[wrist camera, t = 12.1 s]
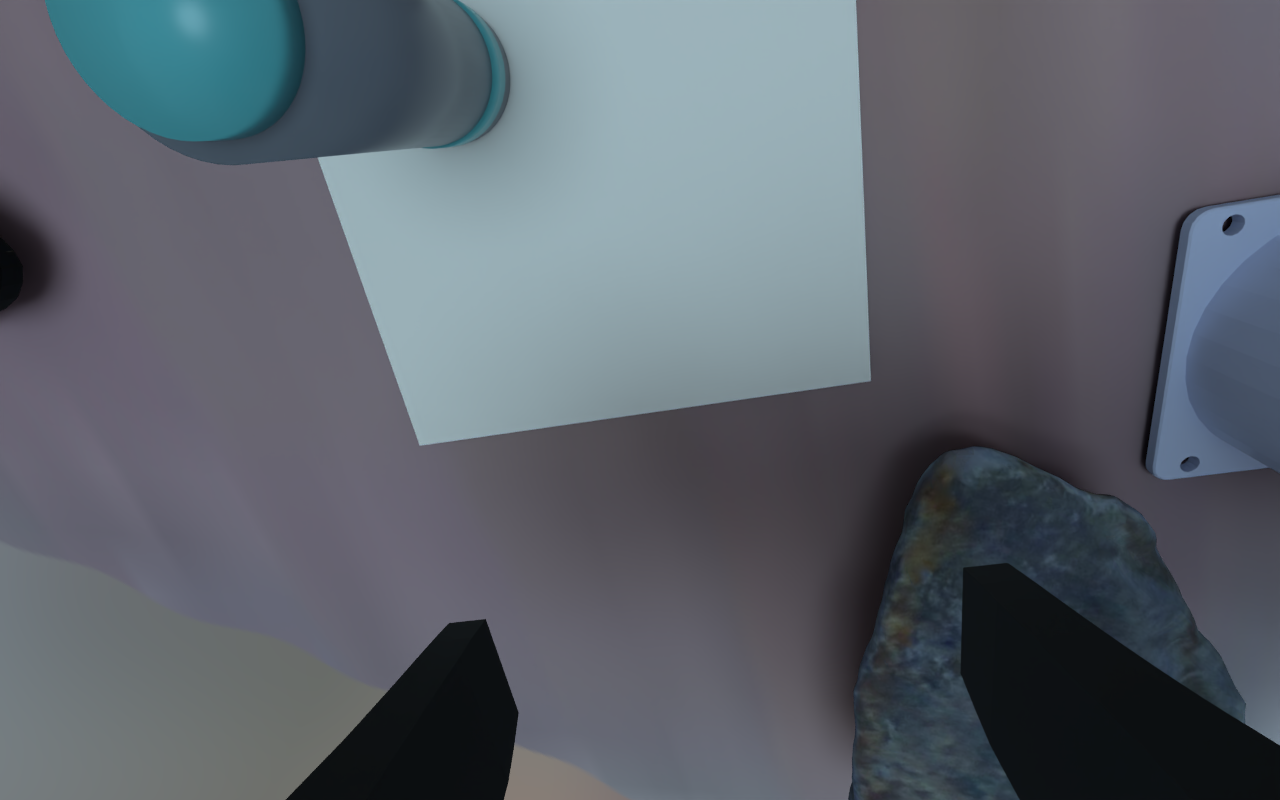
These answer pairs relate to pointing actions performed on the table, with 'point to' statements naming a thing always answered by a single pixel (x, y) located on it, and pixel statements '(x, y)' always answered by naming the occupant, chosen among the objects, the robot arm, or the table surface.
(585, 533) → the table surface
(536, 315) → the paper
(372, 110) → the marker
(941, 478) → the rock
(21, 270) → the toy
